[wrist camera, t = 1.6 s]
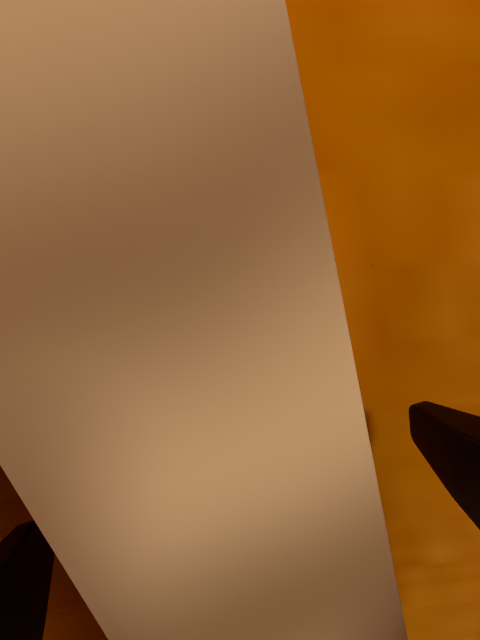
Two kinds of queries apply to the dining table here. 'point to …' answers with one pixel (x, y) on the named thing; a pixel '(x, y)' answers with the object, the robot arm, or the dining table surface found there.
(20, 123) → the beech bar
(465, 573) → the dining table surface
